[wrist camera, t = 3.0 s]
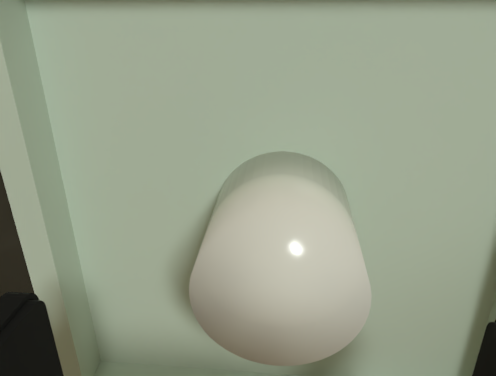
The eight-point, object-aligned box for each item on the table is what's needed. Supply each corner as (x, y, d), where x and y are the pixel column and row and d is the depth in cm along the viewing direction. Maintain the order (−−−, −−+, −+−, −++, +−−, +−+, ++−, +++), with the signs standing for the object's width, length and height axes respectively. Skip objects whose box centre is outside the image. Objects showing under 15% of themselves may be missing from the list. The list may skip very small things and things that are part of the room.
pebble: (355, 153, 13) (382, 224, 9) (342, 270, 15) (361, 371, 11) (214, 149, 14) (182, 216, 10) (219, 264, 15) (194, 360, 11)
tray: (627, -88, 11) (715, -108, 9) (478, 385, 18) (504, 442, 16) (-5, -74, 12) (-71, -87, 10) (92, 358, 20) (66, 406, 17)
